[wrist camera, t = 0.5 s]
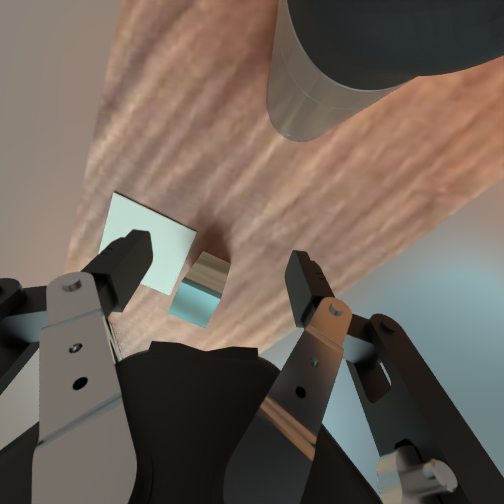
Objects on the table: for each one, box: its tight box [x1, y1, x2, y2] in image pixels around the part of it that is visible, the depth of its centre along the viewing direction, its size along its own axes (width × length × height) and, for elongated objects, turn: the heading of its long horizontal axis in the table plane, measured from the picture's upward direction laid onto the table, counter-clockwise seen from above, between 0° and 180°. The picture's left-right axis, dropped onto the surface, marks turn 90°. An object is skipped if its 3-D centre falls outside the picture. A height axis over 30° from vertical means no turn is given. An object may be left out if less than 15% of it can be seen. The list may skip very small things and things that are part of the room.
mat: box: [99, 192, 197, 296], centre depth 32 cm, size 13×13×1 cm
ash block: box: [168, 251, 231, 328], centre depth 29 cm, size 5×5×10 cm
